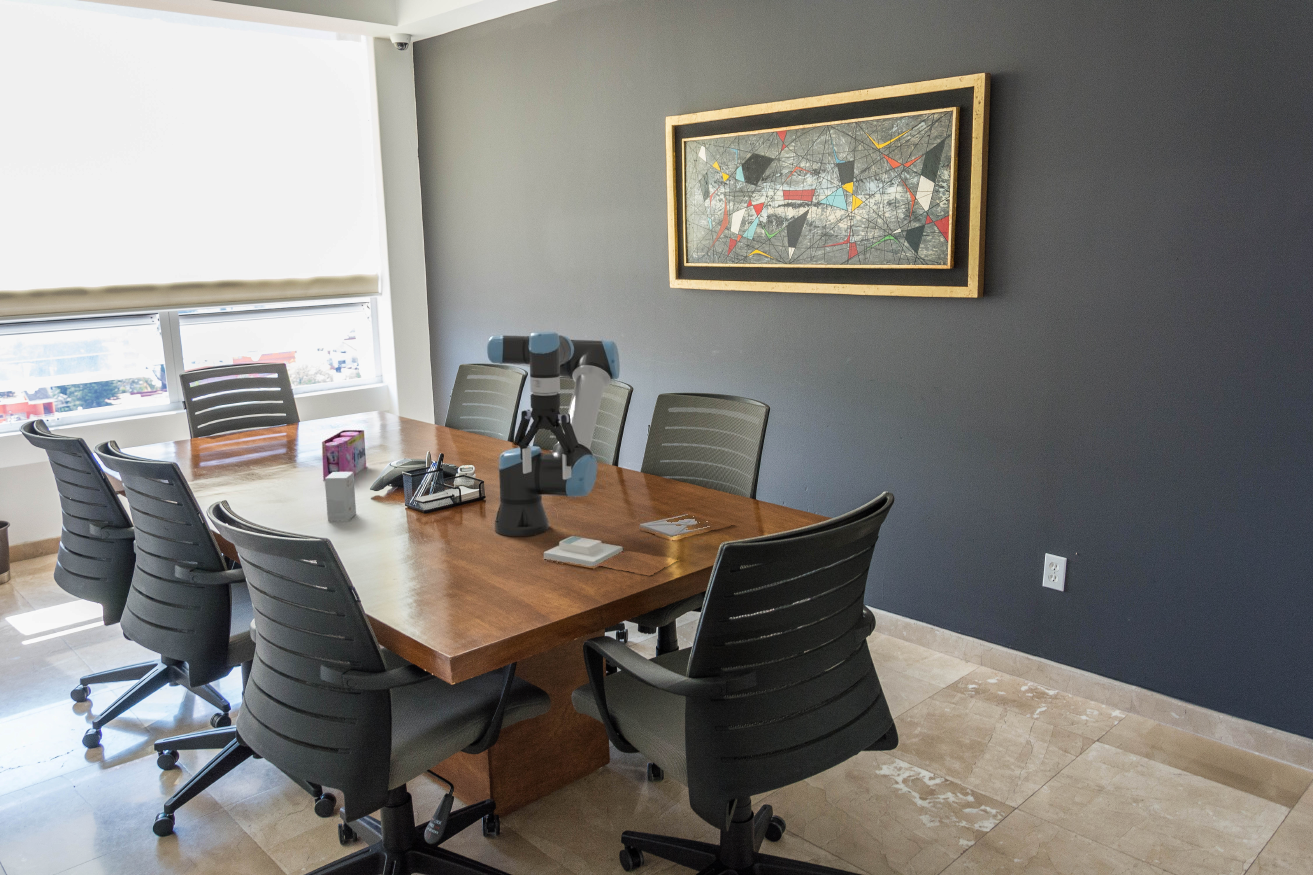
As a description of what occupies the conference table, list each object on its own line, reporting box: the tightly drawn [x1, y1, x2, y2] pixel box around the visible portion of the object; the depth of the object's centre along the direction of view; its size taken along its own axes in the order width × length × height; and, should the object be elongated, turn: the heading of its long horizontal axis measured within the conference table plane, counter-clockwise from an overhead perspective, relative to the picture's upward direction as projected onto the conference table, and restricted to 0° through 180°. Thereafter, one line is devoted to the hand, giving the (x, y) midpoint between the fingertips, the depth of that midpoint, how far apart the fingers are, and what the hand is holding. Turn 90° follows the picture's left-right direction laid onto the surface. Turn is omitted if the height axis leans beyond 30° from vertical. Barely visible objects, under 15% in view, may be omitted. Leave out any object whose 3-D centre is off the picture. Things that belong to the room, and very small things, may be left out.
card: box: [558, 535, 602, 555], centre depth 249 cm, size 6×9×2 cm, turn 60°
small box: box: [324, 472, 357, 522], centre depth 283 cm, size 8×6×13 cm
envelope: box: [639, 513, 710, 537], centre depth 275 cm, size 24×2×14 cm
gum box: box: [321, 429, 367, 482], centre depth 337 cm, size 24×8×14 cm, turn 179°
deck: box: [543, 542, 624, 566], centre depth 249 cm, size 14×15×2 cm
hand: (546, 475), depth 250 cm, fingers open, 12 cm apart
